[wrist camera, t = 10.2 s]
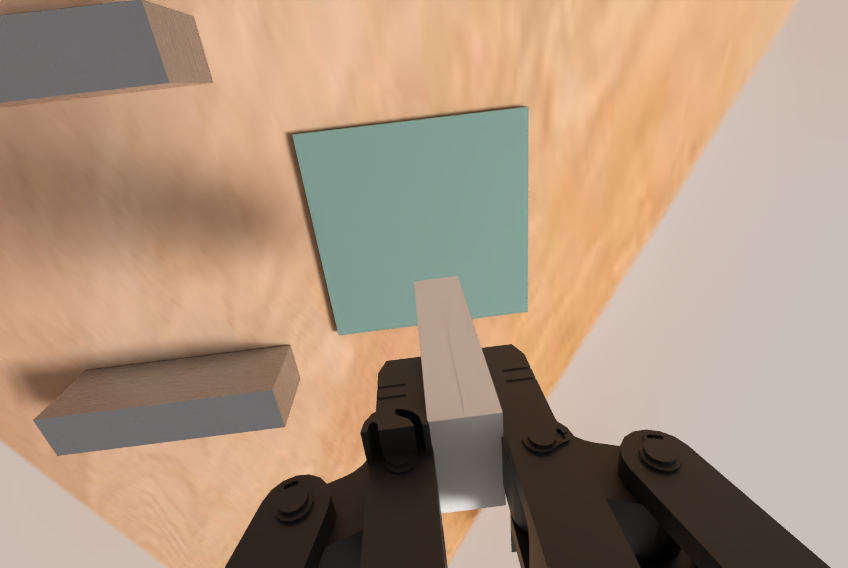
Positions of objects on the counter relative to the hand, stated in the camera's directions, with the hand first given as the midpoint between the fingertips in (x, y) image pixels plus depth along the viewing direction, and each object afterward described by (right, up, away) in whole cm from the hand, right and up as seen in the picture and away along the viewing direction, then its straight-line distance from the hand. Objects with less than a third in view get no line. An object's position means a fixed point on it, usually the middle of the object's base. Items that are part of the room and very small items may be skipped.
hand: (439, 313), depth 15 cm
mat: (-1, +4, +8) cm, 9 cm away
